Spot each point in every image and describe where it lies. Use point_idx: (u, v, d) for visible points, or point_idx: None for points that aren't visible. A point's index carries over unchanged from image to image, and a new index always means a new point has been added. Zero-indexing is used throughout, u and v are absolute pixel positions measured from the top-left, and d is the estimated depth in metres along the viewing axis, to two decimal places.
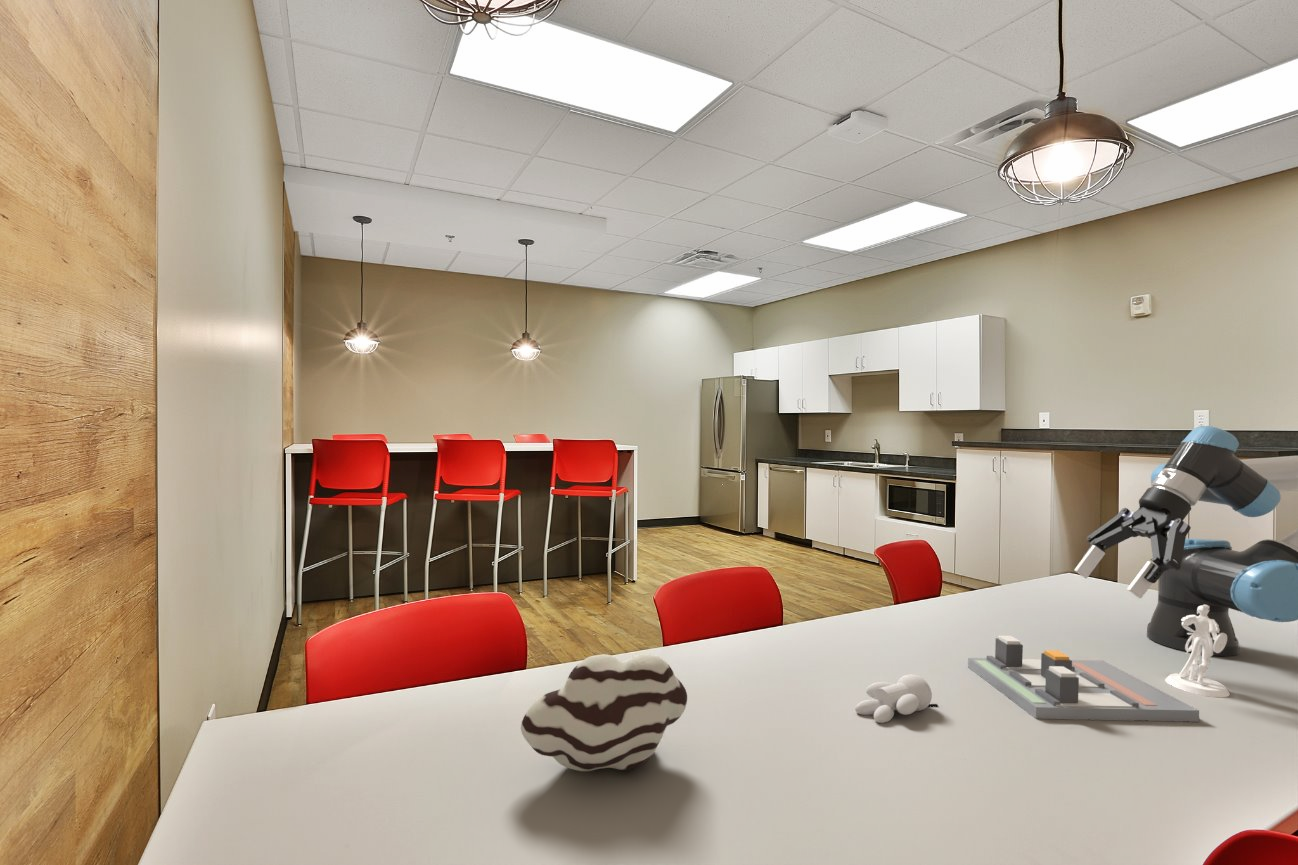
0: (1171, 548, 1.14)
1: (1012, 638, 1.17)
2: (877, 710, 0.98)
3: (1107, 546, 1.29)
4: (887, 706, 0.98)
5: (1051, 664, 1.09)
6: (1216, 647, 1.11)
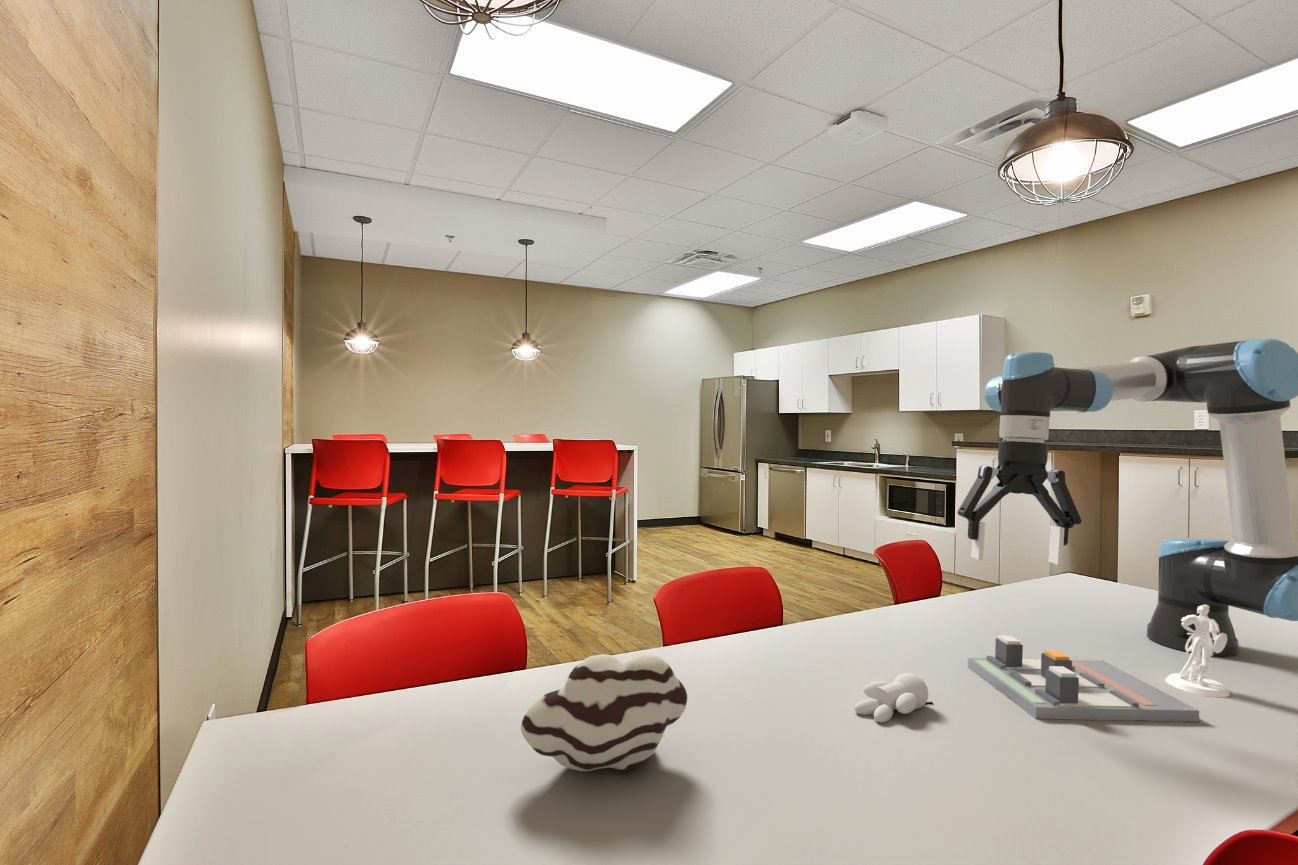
0: (1073, 506, 1.09)
1: (1012, 638, 1.17)
2: (877, 710, 0.98)
3: None
4: (886, 705, 0.99)
5: (1051, 664, 1.09)
6: (1216, 647, 1.11)
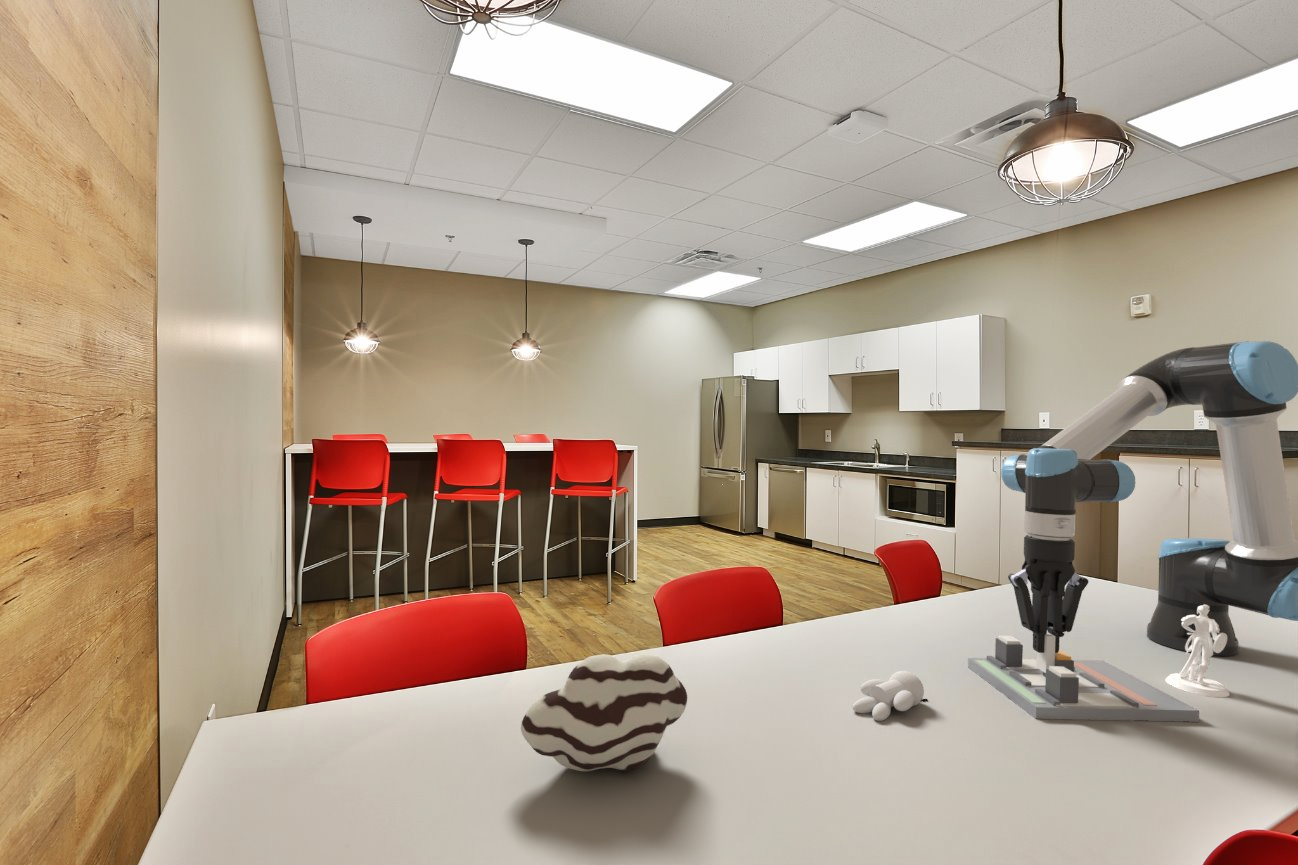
0: (1074, 615, 1.09)
1: (1012, 638, 1.17)
2: (875, 708, 0.98)
3: None
4: (884, 703, 0.99)
5: None
6: (1216, 647, 1.11)
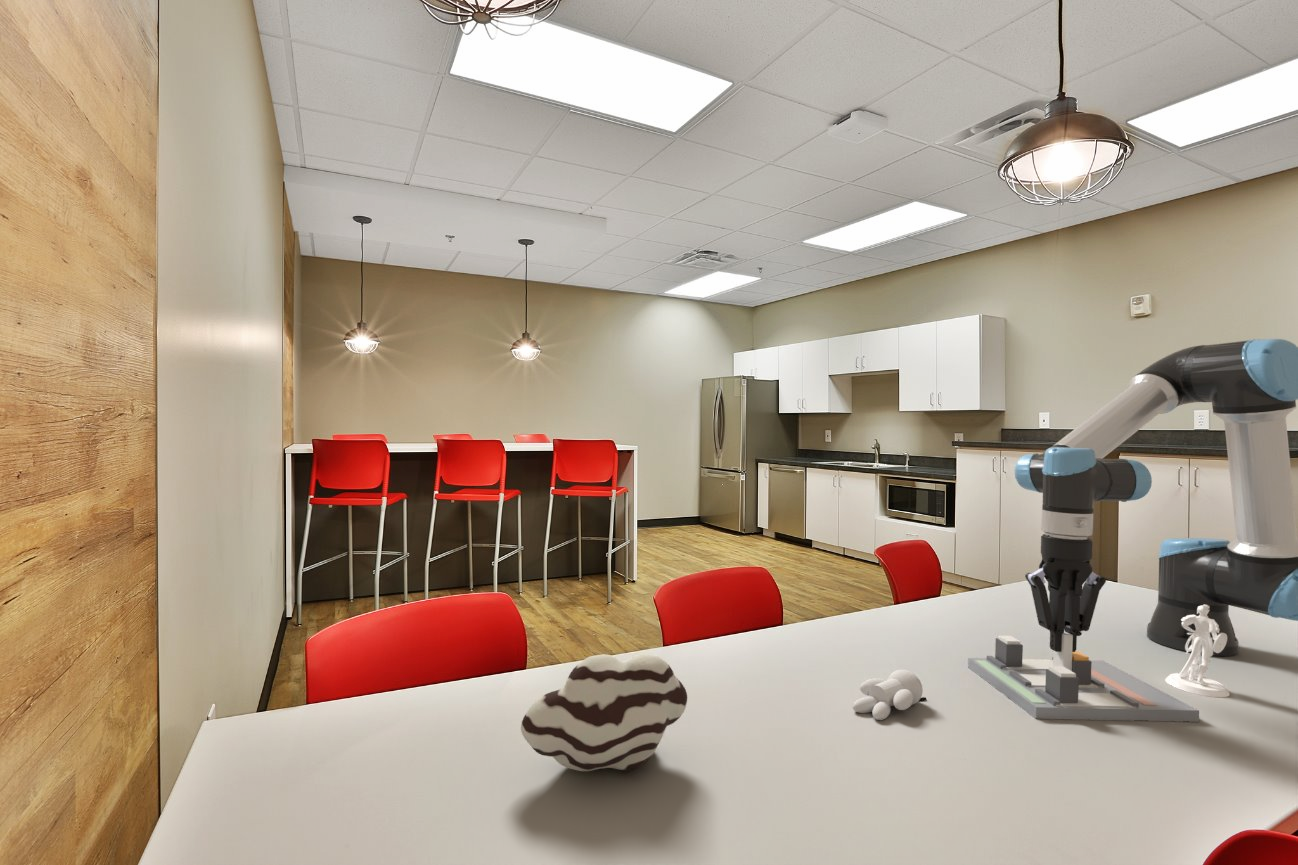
0: (1091, 614, 1.09)
1: (1012, 638, 1.17)
2: (876, 707, 0.98)
3: None
4: (884, 703, 0.99)
5: None
6: (1216, 647, 1.11)
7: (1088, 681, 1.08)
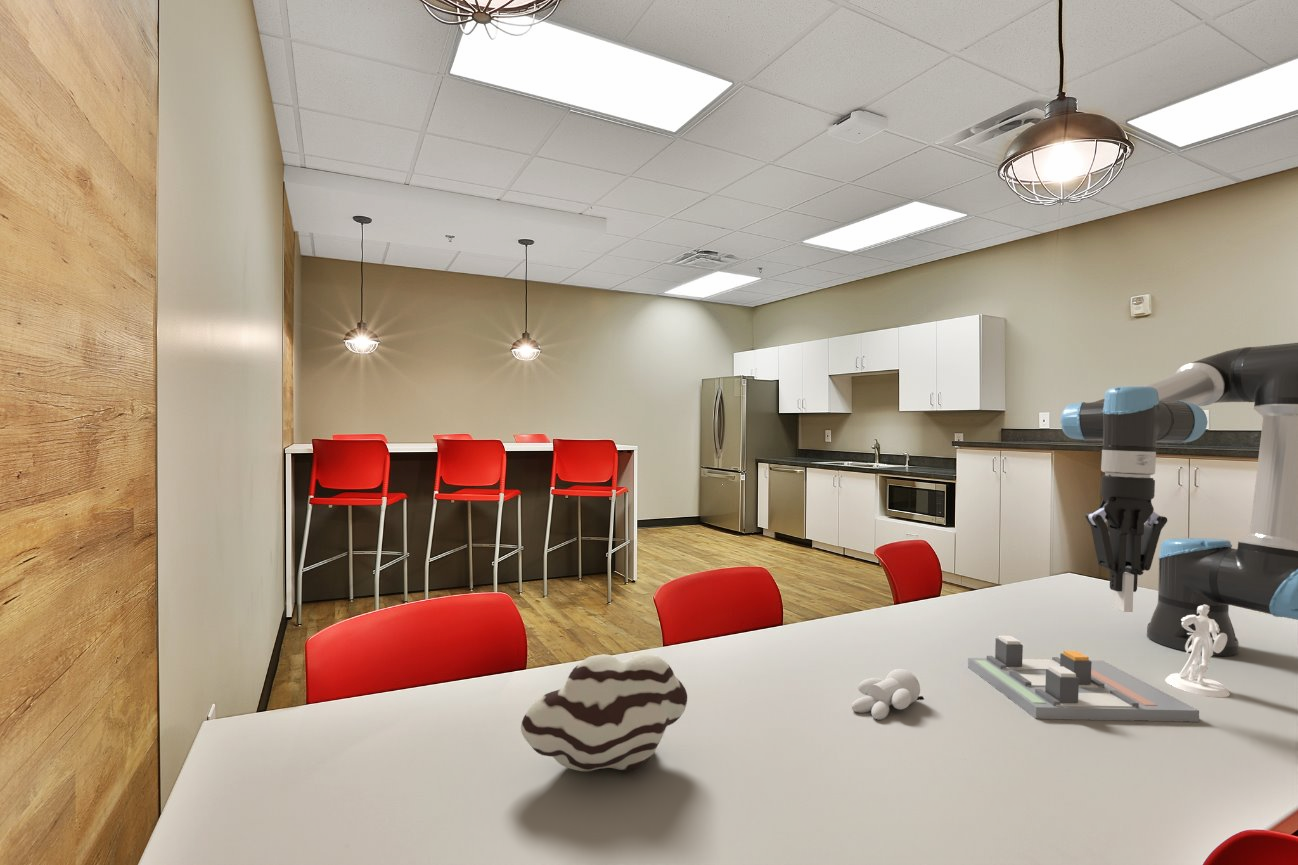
0: (1152, 553, 1.08)
1: (1012, 638, 1.17)
2: (875, 707, 0.99)
3: None
4: (883, 702, 1.00)
5: (1071, 664, 1.09)
6: (1216, 647, 1.11)
7: (1088, 681, 1.08)
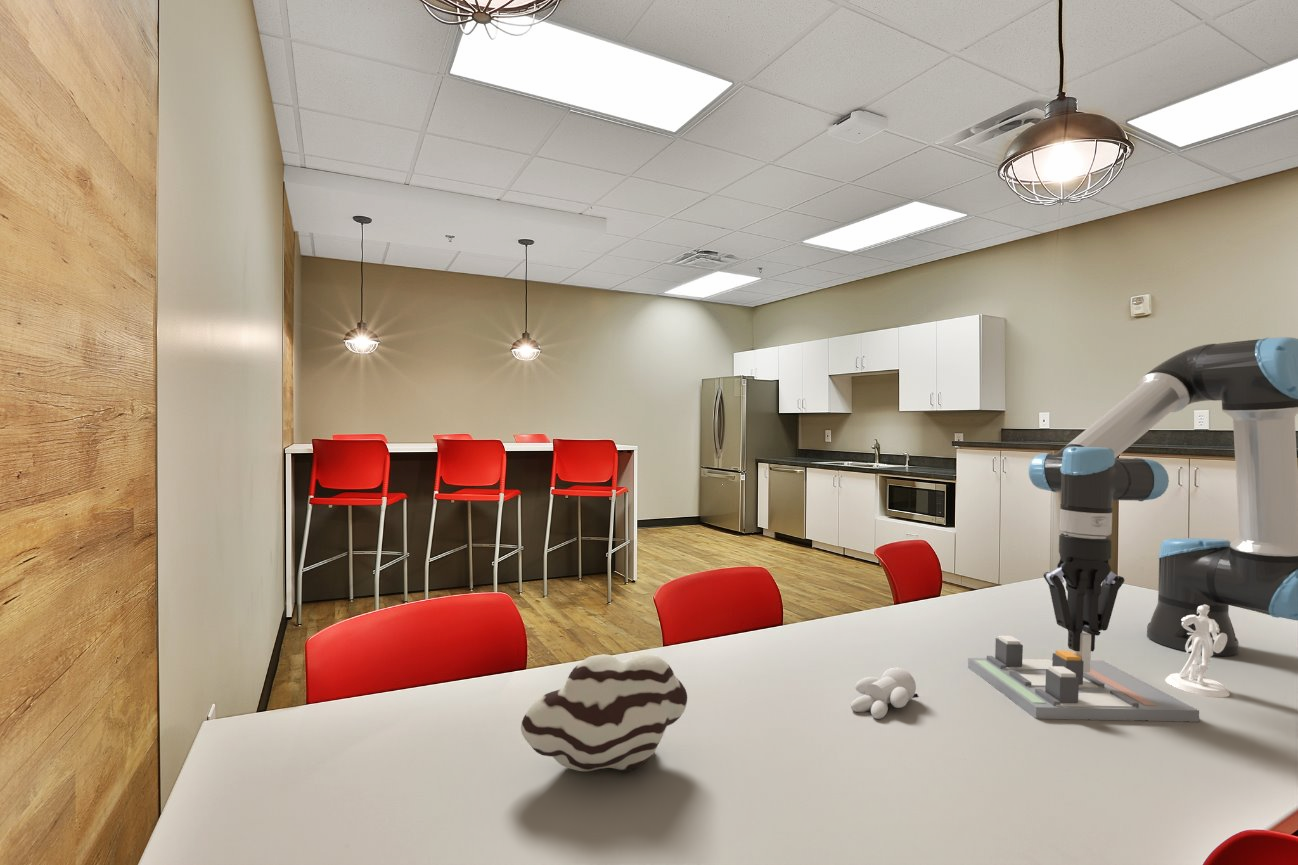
0: (1109, 613, 1.09)
1: (1012, 638, 1.17)
2: (874, 706, 0.99)
3: None
4: (882, 701, 1.00)
5: (1063, 664, 1.09)
6: (1216, 647, 1.11)
7: (1080, 681, 1.08)
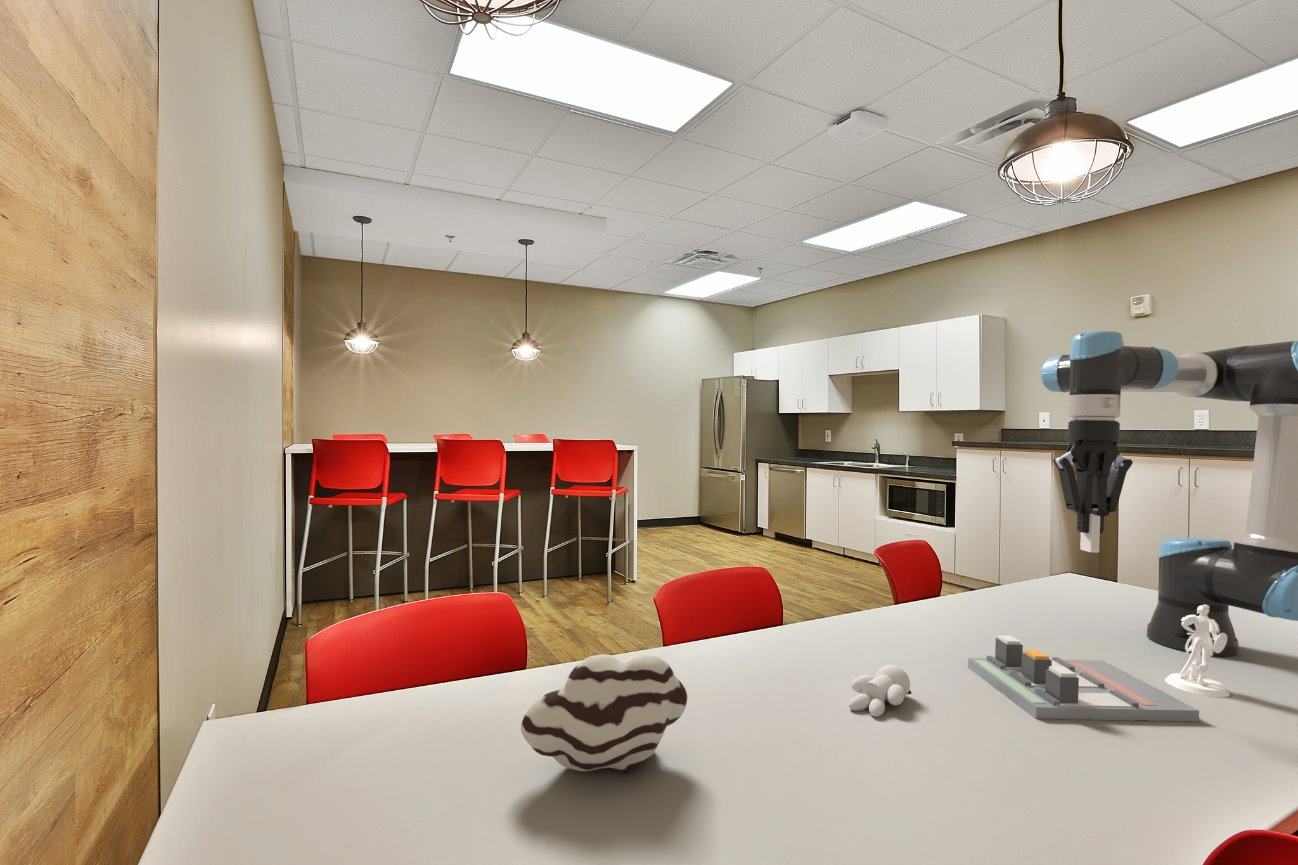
0: (1118, 495, 1.11)
1: (1012, 638, 1.17)
2: (872, 704, 0.99)
3: None
4: (879, 699, 1.01)
5: (1031, 663, 1.09)
6: (1216, 647, 1.11)
7: None
